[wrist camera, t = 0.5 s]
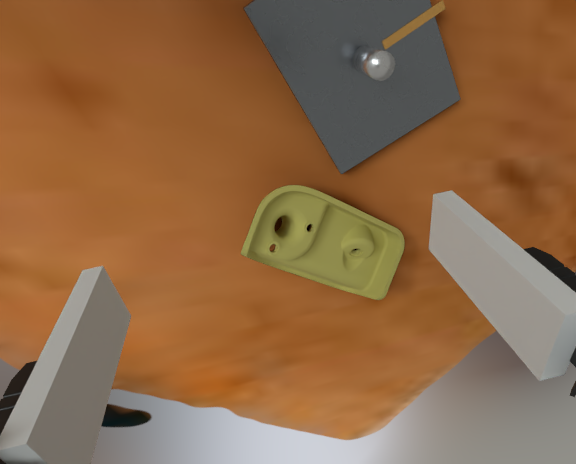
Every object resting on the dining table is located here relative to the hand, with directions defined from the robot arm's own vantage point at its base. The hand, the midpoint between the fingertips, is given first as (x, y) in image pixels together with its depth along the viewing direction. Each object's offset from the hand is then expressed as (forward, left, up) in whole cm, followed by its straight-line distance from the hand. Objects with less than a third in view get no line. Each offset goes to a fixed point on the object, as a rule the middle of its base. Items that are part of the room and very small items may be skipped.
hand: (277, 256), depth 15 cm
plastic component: (+17, -1, -25) cm, 31 cm away
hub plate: (+3, +12, -25) cm, 28 cm away
